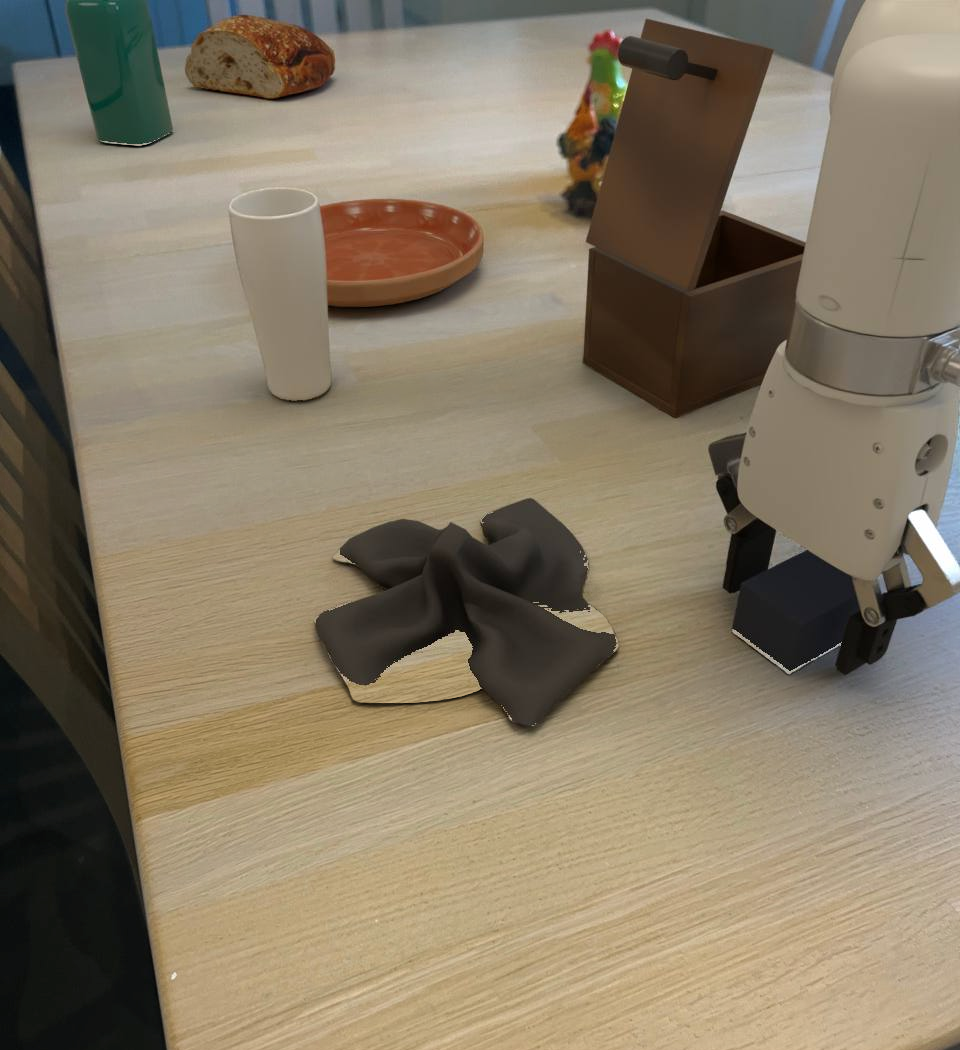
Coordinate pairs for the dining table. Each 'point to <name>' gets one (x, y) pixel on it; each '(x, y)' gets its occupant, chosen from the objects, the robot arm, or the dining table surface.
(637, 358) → the wooden box
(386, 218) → the saucer
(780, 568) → the matte black cuboid
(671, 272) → the box lid
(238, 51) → the bread
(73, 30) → the pitcher
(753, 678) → the dining table surface
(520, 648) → the cloth
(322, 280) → the drinking glass
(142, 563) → the dining table surface
